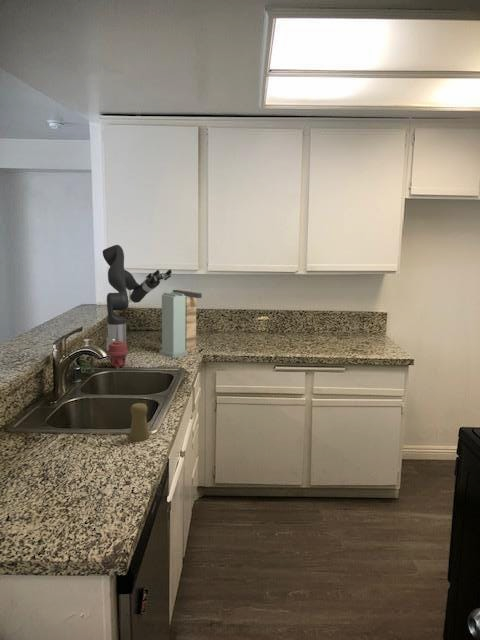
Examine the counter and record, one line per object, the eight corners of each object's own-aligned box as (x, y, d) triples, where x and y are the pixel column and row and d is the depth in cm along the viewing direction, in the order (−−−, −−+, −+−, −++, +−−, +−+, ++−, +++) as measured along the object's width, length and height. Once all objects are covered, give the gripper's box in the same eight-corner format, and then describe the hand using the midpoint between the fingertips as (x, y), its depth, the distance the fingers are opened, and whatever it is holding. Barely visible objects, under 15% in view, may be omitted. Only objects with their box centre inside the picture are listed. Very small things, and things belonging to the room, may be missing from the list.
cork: (150, 434, 155) (150, 401, 153) (147, 441, 149) (147, 407, 147) (131, 433, 154) (130, 400, 153) (127, 441, 148) (127, 407, 147)
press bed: (195, 348, 275) (196, 296, 270) (186, 350, 270) (186, 297, 265) (184, 345, 281) (184, 294, 276) (175, 347, 276) (175, 295, 271)
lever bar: (201, 297, 263) (201, 293, 263) (198, 298, 262) (198, 293, 261) (176, 293, 278) (176, 289, 278) (172, 294, 277) (172, 289, 276)
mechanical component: (119, 370, 226) (102, 367, 230) (133, 366, 235) (117, 363, 239) (118, 345, 224) (102, 342, 228) (132, 341, 233) (116, 338, 237)
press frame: (187, 354, 260) (188, 293, 254) (173, 357, 252) (173, 295, 247) (174, 350, 268) (174, 291, 262) (159, 353, 261) (159, 293, 255)
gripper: (138, 278, 284) (152, 265, 273) (158, 277, 294) (172, 265, 283) (142, 289, 283) (156, 277, 272) (162, 288, 293) (176, 276, 282)
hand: (164, 271), depth 277 cm, fingers open, 8 cm apart
